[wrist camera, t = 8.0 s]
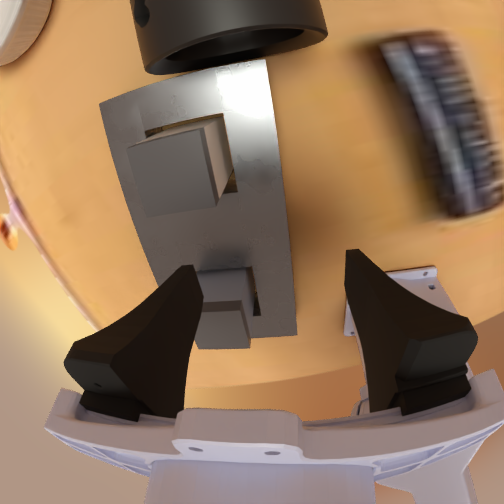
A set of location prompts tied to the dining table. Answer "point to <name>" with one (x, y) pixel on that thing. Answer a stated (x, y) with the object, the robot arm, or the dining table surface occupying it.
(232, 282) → the twin plug
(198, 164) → the plug
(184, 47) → the muzzle brake
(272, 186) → the block
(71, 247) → the dining table surface
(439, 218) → the dining table surface
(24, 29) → the ramekin
